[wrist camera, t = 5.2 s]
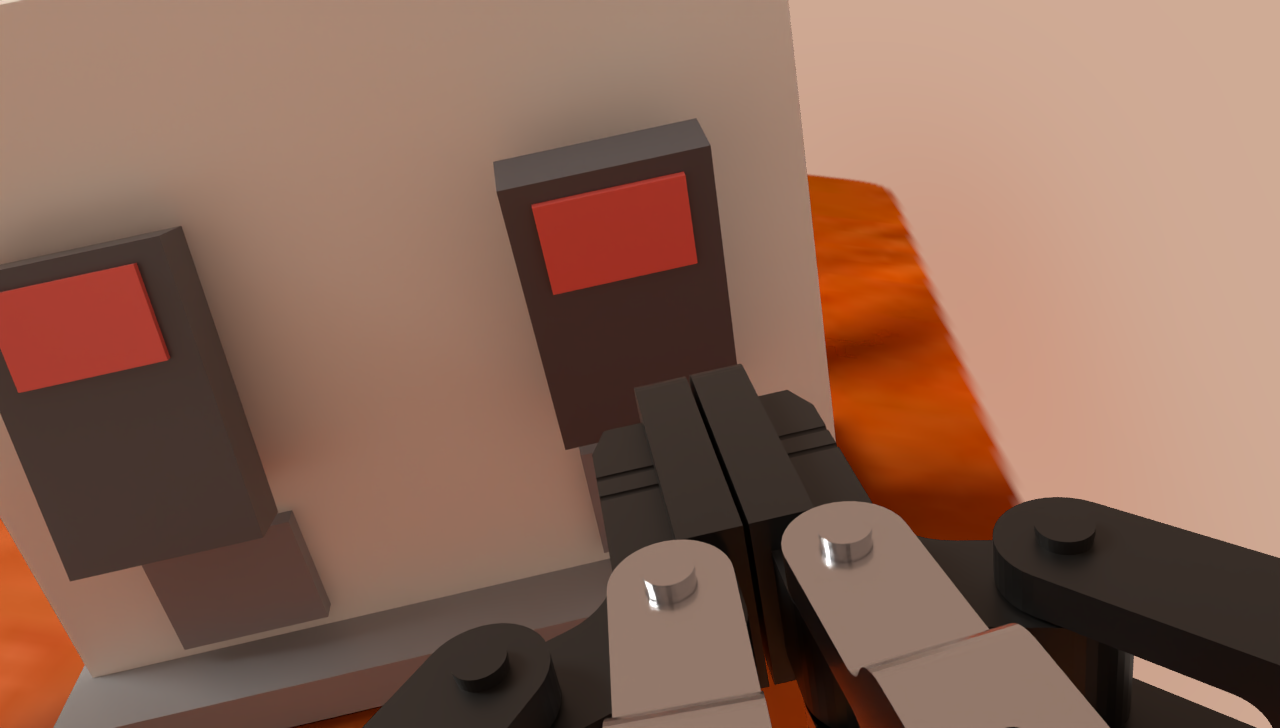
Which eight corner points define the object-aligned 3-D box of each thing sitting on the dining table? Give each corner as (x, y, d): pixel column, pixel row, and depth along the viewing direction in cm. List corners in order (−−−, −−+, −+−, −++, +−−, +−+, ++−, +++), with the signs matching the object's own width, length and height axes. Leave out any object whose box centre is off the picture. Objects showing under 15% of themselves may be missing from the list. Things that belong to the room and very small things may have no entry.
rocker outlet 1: (261, 541, 26) (155, 237, 24) (66, 585, 26) (-59, 283, 24) (278, 511, 28) (181, 225, 25) (95, 553, 28) (-20, 268, 25)
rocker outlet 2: (744, 414, 28) (712, 148, 23) (566, 454, 28) (497, 195, 23) (729, 375, 29) (696, 118, 25) (559, 413, 29) (493, 162, 24)
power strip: (888, 586, 31) (823, -161, 22) (67, 779, 30) (-370, 84, 21) (799, 425, 40) (725, -153, 31) (163, 570, 39) (-112, 18, 30)
